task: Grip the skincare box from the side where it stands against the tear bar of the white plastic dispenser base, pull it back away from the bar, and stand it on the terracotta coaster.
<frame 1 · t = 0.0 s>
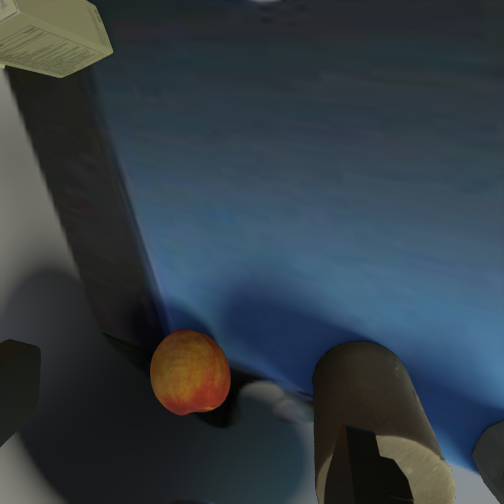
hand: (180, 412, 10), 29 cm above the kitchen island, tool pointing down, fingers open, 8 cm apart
skincare box: (77, 44, 37), on the kitchen island
fruit: (200, 352, 43), on the kitchen island
pillar candle: (360, 382, 42), on the kitchen island
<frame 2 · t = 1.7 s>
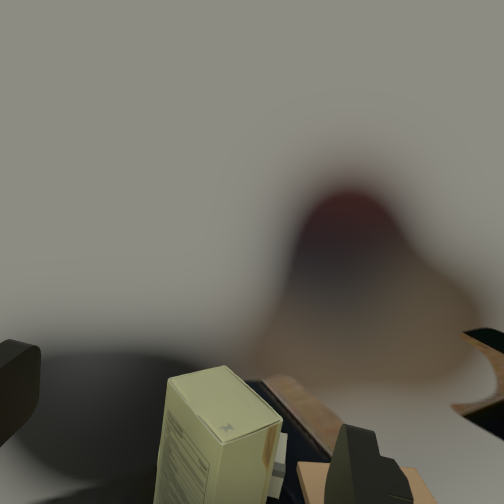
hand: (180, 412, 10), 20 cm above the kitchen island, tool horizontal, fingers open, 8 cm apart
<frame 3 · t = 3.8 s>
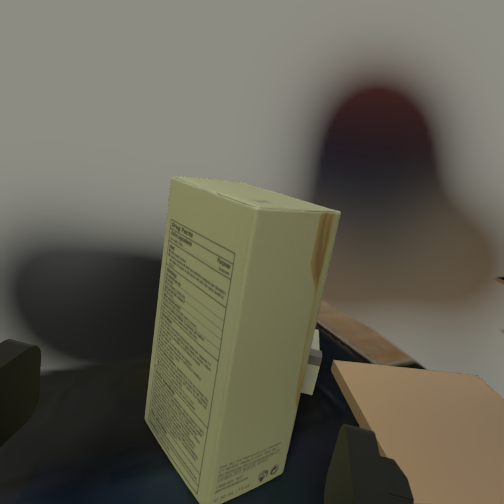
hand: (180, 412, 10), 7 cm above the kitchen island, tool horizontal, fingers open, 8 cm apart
skincare box: (207, 447, 19), on the kitchen island
coaster: (449, 433, 23), on the kitchen island
dispenser: (208, 443, 19), on the kitchen island
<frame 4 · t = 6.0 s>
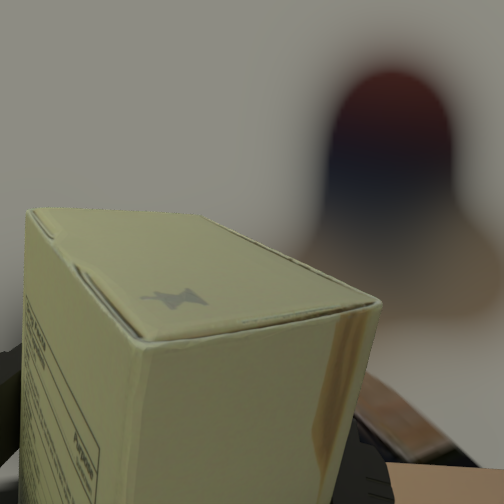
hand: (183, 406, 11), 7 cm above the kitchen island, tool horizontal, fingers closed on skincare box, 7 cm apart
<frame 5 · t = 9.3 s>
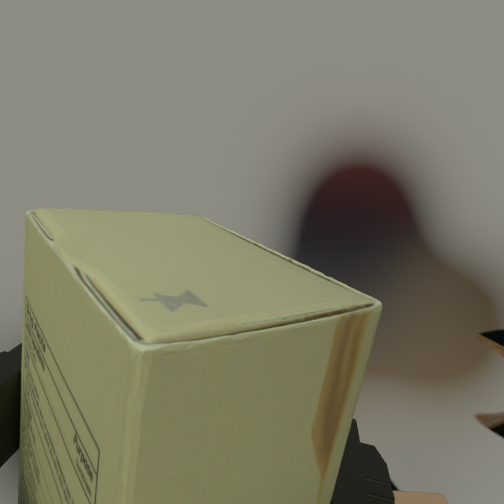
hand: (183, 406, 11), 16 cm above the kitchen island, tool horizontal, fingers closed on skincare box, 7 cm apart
when the fingers open (9 cm above the kitchen island, at t = 13.0 s): skincare box stays where it is, resting on coaster.
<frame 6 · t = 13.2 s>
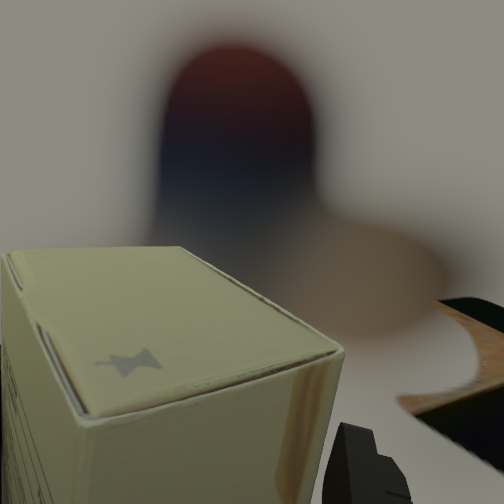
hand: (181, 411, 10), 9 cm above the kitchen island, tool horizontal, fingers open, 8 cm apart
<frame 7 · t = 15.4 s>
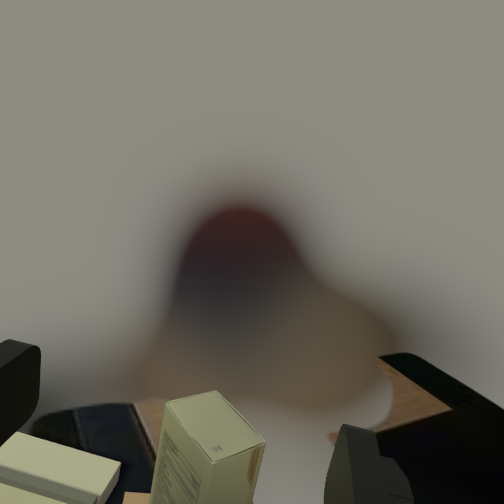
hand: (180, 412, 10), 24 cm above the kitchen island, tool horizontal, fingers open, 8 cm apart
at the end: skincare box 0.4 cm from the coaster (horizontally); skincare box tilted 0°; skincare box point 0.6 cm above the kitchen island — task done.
